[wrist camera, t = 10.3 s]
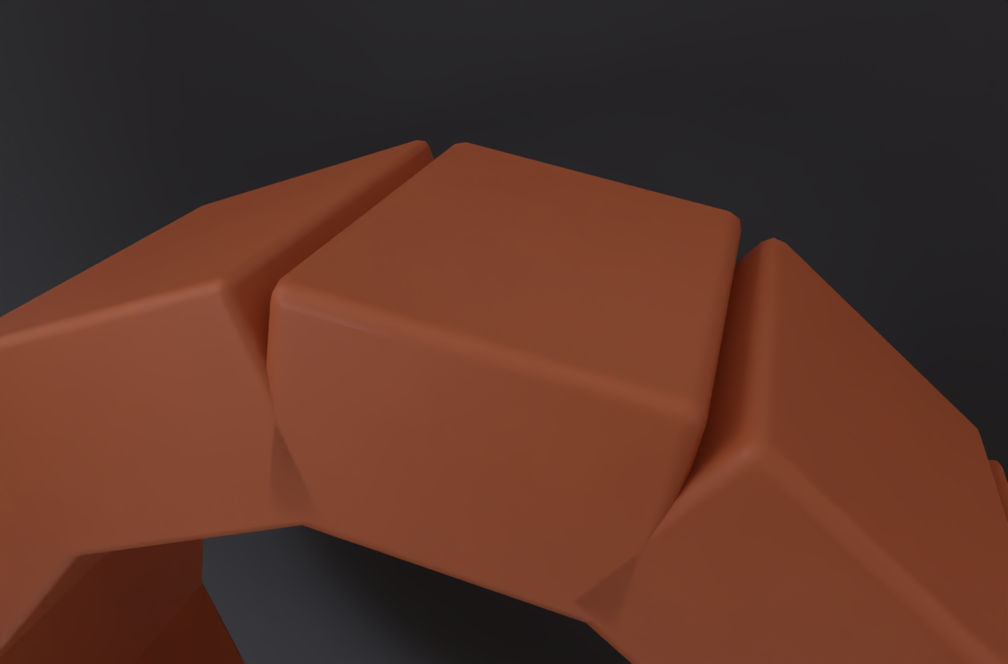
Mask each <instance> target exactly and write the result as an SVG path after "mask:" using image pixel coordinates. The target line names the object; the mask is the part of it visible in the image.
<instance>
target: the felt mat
mask: <svg viewBox="0 0 1008 664" xmlns="http://www.w3.org/2000/svg"><path fill="white" fill-rule="evenodd" d="M415 140H420V141H426V143H427V144H428V145H429V147H430V150H431V152H432V155H433V158H434V160H435V159H436V158H437V157H439V156H440V155H441V154H443V153H444V152H445V151H446V150H448V149H449V148H450V147H452V146H453V145H454V144H458V143H465V142H467V143H471V144H475V145H478V146H482V147H486V148H490V149H494V150H498V151H501V152H505V153H509V154H513V155H517V156H520V157H524V158H528V159H532V160H536V161H539V162H543V163H547V164H551V165H555V166H558V167H562V168H566V169H570V170H574V171H577V172H581V173H585V174H589V175H593V176H597V177H600V178H604V179H608V180H612V181H616V182H619V183H623V184H627V185H631V186H635V187H638V188H642V189H646V190H650V191H654V192H657V193H661V194H665V195H669V196H673V197H676V198H680V199H684V200H688V201H692V202H696V203H699V204H703V205H707V206H711V207H715V208H718V209H722V210H726V211H730V212H731V213H732V214H734V215H735V216H736V217H738V218H739V219H740V224H741V236H740V241H739V247H738V252H737V258H736V263H737V262H738V261H739V260H741V259H742V258H743V257H744V256H745V255H746V254H747V253H749V252H750V251H751V250H752V249H753V248H754V247H756V246H757V245H758V244H759V243H760V242H763V241H765V240H768V239H771V238H775V239H778V240H780V241H782V242H785V243H786V244H787V245H788V246H789V247H790V248H791V249H792V250H793V251H794V252H795V253H797V254H798V255H799V256H800V257H801V258H802V259H803V260H804V261H805V262H806V263H807V264H808V265H809V266H810V267H811V268H812V269H813V270H814V271H815V272H816V273H817V274H818V275H819V276H820V277H821V278H822V279H823V280H824V281H825V282H826V283H827V284H829V285H830V286H831V287H832V288H833V289H834V290H835V291H836V292H837V293H838V294H839V295H840V296H841V297H842V298H843V299H844V300H845V301H846V302H847V303H848V304H849V305H850V306H851V307H852V308H853V309H854V310H855V311H856V312H857V313H858V314H859V315H861V316H862V317H863V318H864V319H865V320H866V321H867V322H868V323H869V324H870V325H871V326H872V327H873V328H874V329H875V330H876V331H877V332H878V333H879V334H880V335H881V336H882V337H883V338H884V339H885V340H886V341H887V342H888V343H889V344H890V345H891V346H893V347H894V348H895V349H896V350H897V351H898V352H899V353H900V354H901V355H902V356H903V357H904V358H905V359H906V360H907V361H908V362H909V363H910V364H911V365H912V366H913V367H914V368H915V369H916V370H917V371H918V372H919V373H920V374H921V375H922V376H923V377H925V378H926V379H927V380H928V381H929V382H930V383H931V384H932V385H933V386H934V387H935V388H936V389H937V390H938V391H939V392H940V393H941V394H942V395H943V396H944V397H945V398H946V399H947V400H948V401H949V402H950V403H951V404H952V405H953V406H954V407H955V408H957V409H958V410H959V411H960V412H961V413H962V414H963V415H964V416H965V417H966V418H967V419H968V420H969V421H970V422H971V423H972V424H973V425H974V426H975V427H976V428H977V429H978V431H979V434H980V436H981V439H982V442H983V445H984V449H985V452H986V455H987V458H988V460H996V461H998V462H999V463H1000V465H1001V466H1002V467H1003V470H1004V473H1005V476H1006V479H1007V482H1008V0H0V317H2V316H4V315H5V314H7V313H9V312H11V311H13V310H14V309H16V308H18V307H20V306H22V305H23V304H25V303H27V302H29V301H31V300H32V299H34V298H36V297H38V296H40V295H42V294H43V293H45V292H47V291H49V290H51V289H52V288H54V287H56V286H58V285H60V284H61V283H63V282H65V281H67V280H69V279H71V278H72V277H74V276H76V275H78V274H80V273H81V272H83V271H85V270H87V269H89V268H90V267H92V266H94V265H96V264H98V263H100V262H101V261H103V260H105V259H107V258H109V257H110V256H112V255H114V254H116V253H118V252H119V251H121V250H123V249H125V248H127V247H129V246H130V245H132V244H134V243H136V242H138V241H139V240H141V239H143V238H145V237H147V236H148V235H150V234H152V233H154V232H156V231H158V230H159V229H161V228H163V227H165V226H167V225H168V224H170V223H172V222H174V221H176V220H177V219H179V218H181V217H183V216H185V215H187V214H188V213H190V212H192V211H194V210H196V209H197V208H199V207H201V206H203V205H206V204H210V203H213V202H216V201H219V200H223V199H226V198H229V197H232V196H236V195H239V194H242V193H245V192H249V191H252V190H255V189H259V188H262V187H265V186H268V185H272V184H275V183H278V182H281V181H285V180H288V179H291V178H294V177H298V176H301V175H304V174H308V173H311V172H314V171H317V170H321V169H324V168H327V167H330V166H334V165H337V164H340V163H343V162H347V161H350V160H353V159H357V158H360V157H363V156H366V155H370V154H373V153H376V152H379V151H383V150H386V149H389V148H392V147H396V146H399V145H402V144H406V143H409V142H412V141H415ZM736 263H735V264H736ZM202 583H203V585H204V586H205V588H206V590H207V592H208V594H209V596H210V598H211V600H212V602H213V603H214V605H215V607H216V609H217V611H218V613H219V615H220V617H221V618H222V620H223V622H224V624H225V626H226V628H227V630H228V632H229V633H230V635H231V637H232V639H233V641H234V643H235V645H236V647H237V649H238V650H239V652H240V654H241V656H242V658H243V660H244V662H245V664H632V663H630V662H629V661H628V660H627V659H626V658H625V657H624V656H623V655H621V654H620V653H619V652H618V651H617V650H616V649H615V648H614V647H612V646H611V645H610V644H609V643H608V642H607V641H606V640H605V639H604V638H602V637H601V636H600V635H599V634H598V633H597V632H596V631H595V630H593V629H592V628H591V627H590V626H589V625H588V624H587V623H585V622H582V621H579V620H576V619H573V618H571V617H568V616H565V615H562V614H559V613H556V612H553V611H550V610H547V609H544V608H541V607H539V606H536V605H533V604H530V603H527V602H524V601H521V600H518V599H515V598H512V597H510V596H507V595H504V594H501V593H498V592H495V591H492V590H489V589H486V588H483V587H480V586H478V585H475V584H472V583H469V582H466V581H463V580H460V579H457V578H454V577H451V576H448V575H446V574H443V573H440V572H437V571H434V570H431V569H428V568H425V567H422V566H419V565H416V564H414V563H411V562H408V561H405V560H402V559H399V558H396V557H393V556H390V555H387V554H384V553H382V552H379V551H376V550H373V549H370V548H367V547H364V546H361V545H358V544H355V543H353V542H350V541H347V540H344V539H341V538H338V537H335V536H332V535H329V534H326V533H323V532H321V531H318V530H315V529H312V528H309V527H306V526H303V525H299V526H292V527H285V528H278V529H270V530H263V531H256V532H248V533H241V534H234V535H226V536H219V537H212V538H204V539H203V566H202Z"/></svg>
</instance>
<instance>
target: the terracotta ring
mask: <svg viewBox="0 0 1008 664" xmlns="http://www.w3.org/2000/svg"><path fill="white" fill-rule="evenodd" d="M740 236H741V224H740V219H739V218H738V217H736V216H735V215H734V214H732V213H731V212H730V211H726V210H722V209H718V208H715V207H711V206H707V205H703V204H699V203H696V202H692V201H688V200H684V199H680V198H676V197H673V196H669V195H665V194H661V193H657V192H654V191H650V190H646V189H642V188H638V187H635V186H631V185H627V184H623V183H619V182H616V181H612V180H608V179H604V178H600V177H597V176H593V175H589V174H585V173H581V172H577V171H574V170H570V169H566V168H562V167H558V166H555V165H551V164H547V163H543V162H539V161H536V160H532V159H528V158H524V157H520V156H517V155H513V154H509V153H505V152H501V151H498V150H494V149H490V148H486V147H482V146H478V145H475V144H471V143H467V142H465V143H458V144H454V145H453V146H452V147H450V148H449V149H448V150H446V151H445V152H444V153H443V154H441V155H440V156H439V157H437V158H436V159H435V160H434V158H433V155H432V152H431V150H430V147H429V145H428V144H427V143H426V141H420V140H415V141H412V142H409V143H406V144H402V145H399V146H396V147H392V148H389V149H386V150H383V151H379V152H376V153H373V154H370V155H366V156H363V157H360V158H357V159H353V160H350V161H347V162H343V163H340V164H337V165H334V166H330V167H327V168H324V169H321V170H317V171H314V172H311V173H308V174H304V175H301V176H298V177H294V178H291V179H288V180H285V181H281V182H278V183H275V184H272V185H268V186H265V187H262V188H259V189H255V190H252V191H249V192H245V193H242V194H239V195H236V196H232V197H229V198H226V199H223V200H219V201H216V202H213V203H210V204H206V205H203V206H201V207H199V208H197V209H196V210H194V211H192V212H190V213H188V214H187V215H185V216H183V217H181V218H179V219H177V220H176V221H174V222H172V223H170V224H168V225H167V226H165V227H163V228H161V229H159V230H158V231H156V232H154V233H152V234H150V235H148V236H147V237H145V238H143V239H141V240H139V241H138V242H136V243H134V244H132V245H130V246H129V247H127V248H125V249H123V250H121V251H119V252H118V253H116V254H114V255H112V256H110V257H109V258H107V259H105V260H103V261H101V262H100V263H98V264H96V265H94V266H92V267H90V268H89V269H87V270H85V271H83V272H81V273H80V274H78V275H76V276H74V277H72V278H71V279H69V280H67V281H65V282H63V283H61V284H60V285H58V286H56V287H54V288H52V289H51V290H49V291H47V292H45V293H43V294H42V295H40V296H38V297H36V298H34V299H32V300H31V301H29V302H27V303H25V304H23V305H22V306H20V307H18V308H16V309H14V310H13V311H11V312H9V313H7V314H5V315H4V316H2V317H0V664H245V662H244V660H243V658H242V656H241V654H240V652H239V650H238V649H237V647H236V645H235V643H234V641H233V639H232V637H231V635H230V633H229V632H228V630H227V628H226V626H225V624H224V622H223V620H222V618H221V617H220V615H219V613H218V611H217V609H216V607H215V605H214V603H213V602H212V600H211V598H210V596H209V594H208V592H207V590H206V588H205V586H204V585H203V583H202V566H203V539H204V538H212V537H219V536H226V535H234V534H241V533H248V532H256V531H263V530H270V529H278V528H285V527H292V526H299V525H303V526H306V527H309V528H312V529H315V530H318V531H321V532H323V533H326V534H329V535H332V536H335V537H338V538H341V539H344V540H347V541H350V542H353V543H355V544H358V545H361V546H364V547H367V548H370V549H373V550H376V551H379V552H382V553H384V554H387V555H390V556H393V557H396V558H399V559H402V560H405V561H408V562H411V563H414V564H416V565H419V566H422V567H425V568H428V569H431V570H434V571H437V572H440V573H443V574H446V575H448V576H451V577H454V578H457V579H460V580H463V581H466V582H469V583H472V584H475V585H478V586H480V587H483V588H486V589H489V590H492V591H495V592H498V593H501V594H504V595H507V596H510V597H512V598H515V599H518V600H521V601H524V602H527V603H530V604H533V605H536V606H539V607H541V608H544V609H547V610H550V611H553V612H556V613H559V614H562V615H565V616H568V617H571V618H573V619H576V620H579V621H582V622H585V623H587V624H588V625H589V626H590V627H591V628H592V629H593V630H595V631H596V632H597V633H598V634H599V635H600V636H601V637H602V638H604V639H605V640H606V641H607V642H608V643H609V644H610V645H611V646H612V647H614V648H615V649H616V650H617V651H618V652H619V653H620V654H621V655H623V656H624V657H625V658H626V659H627V660H628V661H629V662H630V663H632V664H1008V482H1007V479H1006V476H1005V473H1004V470H1003V467H1002V466H1001V465H1000V463H999V462H998V461H996V460H988V458H987V455H986V452H985V449H984V445H983V442H982V439H981V436H980V434H979V431H978V429H977V428H976V427H975V426H974V425H973V424H972V423H971V422H970V421H969V420H968V419H967V418H966V417H965V416H964V415H963V414H962V413H961V412H960V411H959V410H958V409H957V408H955V407H954V406H953V405H952V404H951V403H950V402H949V401H948V400H947V399H946V398H945V397H944V396H943V395H942V394H941V393H940V392H939V391H938V390H937V389H936V388H935V387H934V386H933V385H932V384H931V383H930V382H929V381H928V380H927V379H926V378H925V377H923V376H922V375H921V374H920V373H919V372H918V371H917V370H916V369H915V368H914V367H913V366H912V365H911V364H910V363H909V362H908V361H907V360H906V359H905V358H904V357H903V356H902V355H901V354H900V353H899V352H898V351H897V350H896V349H895V348H894V347H893V346H891V345H890V344H889V343H888V342H887V341H886V340H885V339H884V338H883V337H882V336H881V335H880V334H879V333H878V332H877V331H876V330H875V329H874V328H873V327H872V326H871V325H870V324H869V323H868V322H867V321H866V320H865V319H864V318H863V317H862V316H861V315H859V314H858V313H857V312H856V311H855V310H854V309H853V308H852V307H851V306H850V305H849V304H848V303H847V302H846V301H845V300H844V299H843V298H842V297H841V296H840V295H839V294H838V293H837V292H836V291H835V290H834V289H833V288H832V287H831V286H830V285H829V284H827V283H826V282H825V281H824V280H823V279H822V278H821V277H820V276H819V275H818V274H817V273H816V272H815V271H814V270H813V269H812V268H811V267H810V266H809V265H808V264H807V263H806V262H805V261H804V260H803V259H802V258H801V257H800V256H799V255H798V254H797V253H795V252H794V251H793V250H792V249H791V248H790V247H789V246H788V245H787V244H786V243H785V242H782V241H780V240H778V239H775V238H771V239H768V240H765V241H763V242H760V243H759V244H758V245H757V246H756V247H754V248H753V249H752V250H751V251H750V252H749V253H747V254H746V255H745V256H744V257H743V258H742V259H741V260H739V261H738V262H737V263H736V258H737V252H738V247H739V241H740ZM735 263H736V264H735Z"/></svg>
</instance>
